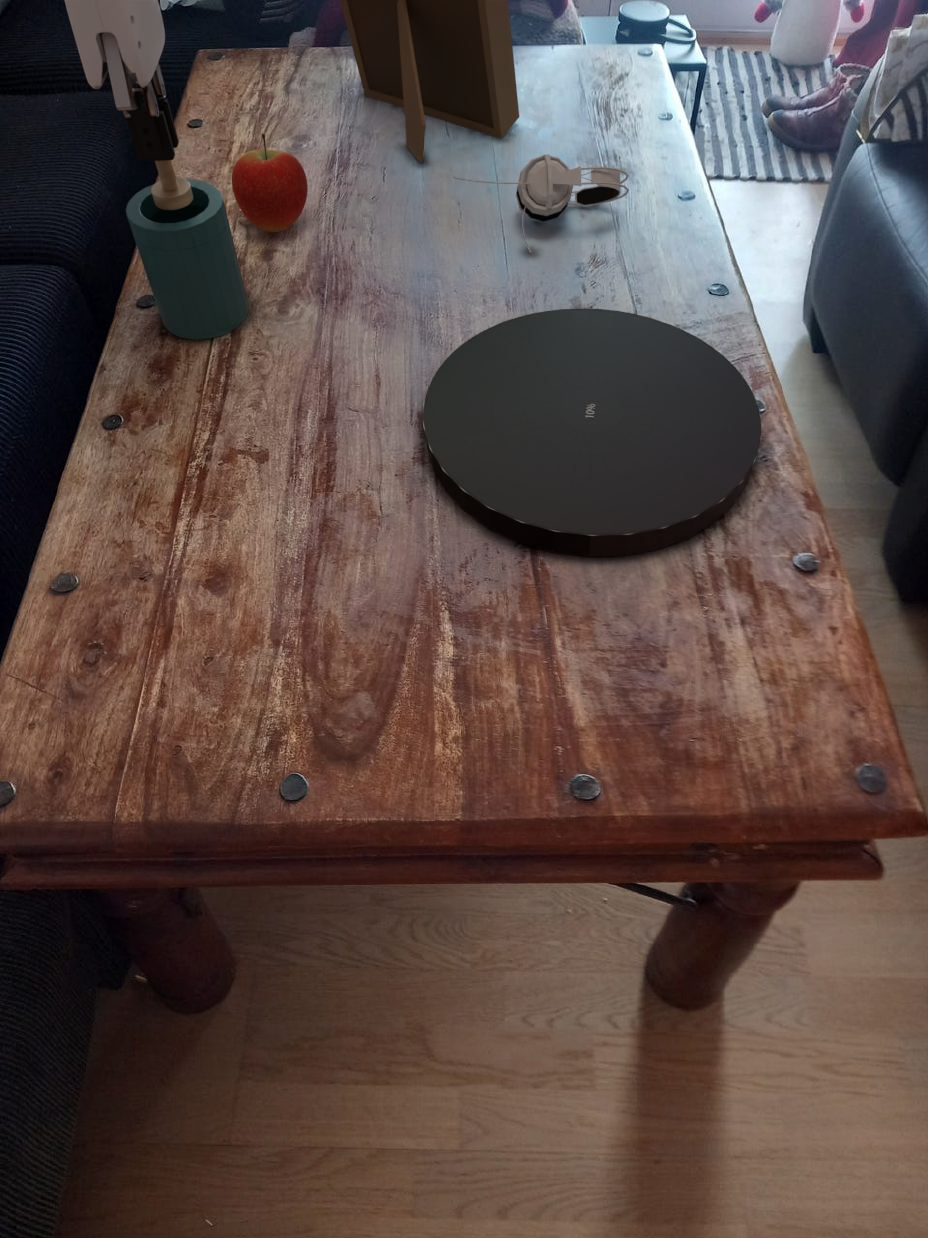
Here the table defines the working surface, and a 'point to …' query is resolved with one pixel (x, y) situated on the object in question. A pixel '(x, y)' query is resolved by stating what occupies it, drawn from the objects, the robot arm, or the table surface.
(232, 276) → the jar
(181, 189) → the rod on round base
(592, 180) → the headphones
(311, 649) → the table surface
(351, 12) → the photo frame
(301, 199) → the apple
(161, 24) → the robot arm
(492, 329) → the disc
